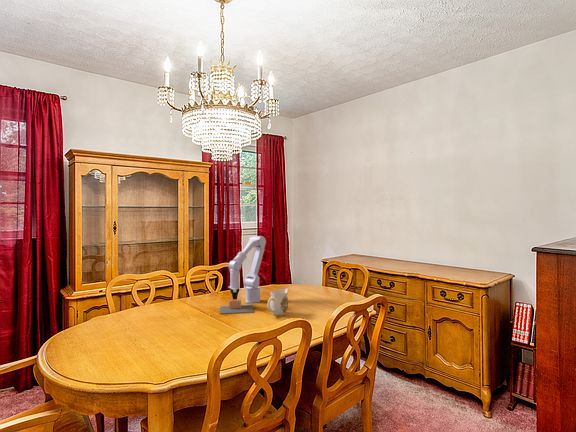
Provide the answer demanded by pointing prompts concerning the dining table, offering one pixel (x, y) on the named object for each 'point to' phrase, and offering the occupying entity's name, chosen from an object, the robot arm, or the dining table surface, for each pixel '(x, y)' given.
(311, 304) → the dining table surface
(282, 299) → the pitcher
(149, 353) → the dining table surface
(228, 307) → the mat
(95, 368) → the dining table surface
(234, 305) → the tile
